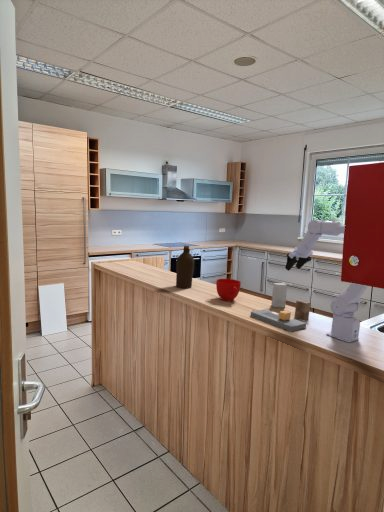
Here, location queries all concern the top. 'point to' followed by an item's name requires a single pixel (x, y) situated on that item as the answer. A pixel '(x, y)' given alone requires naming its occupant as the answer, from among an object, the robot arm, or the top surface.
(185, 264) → the olive oil
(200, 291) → the top surface
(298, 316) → the walnut pusher
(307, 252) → the robot arm
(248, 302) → the top surface
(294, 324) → the switch board
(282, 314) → the switch tab
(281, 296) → the skincare box
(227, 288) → the ceramic cup
